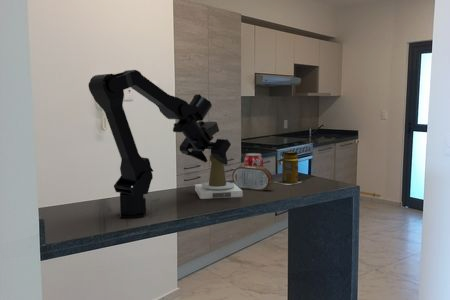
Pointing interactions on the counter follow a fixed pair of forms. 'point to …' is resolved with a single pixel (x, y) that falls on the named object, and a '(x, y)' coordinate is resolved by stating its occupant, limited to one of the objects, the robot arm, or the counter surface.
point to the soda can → (253, 160)
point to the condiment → (289, 168)
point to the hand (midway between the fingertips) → (216, 162)
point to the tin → (252, 177)
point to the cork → (217, 173)
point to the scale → (218, 191)
